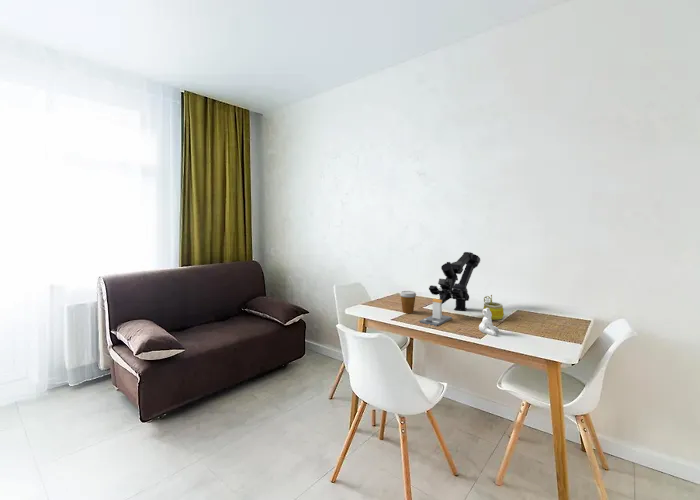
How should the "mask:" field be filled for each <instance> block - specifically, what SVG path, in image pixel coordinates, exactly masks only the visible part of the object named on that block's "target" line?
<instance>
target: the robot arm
mask: <svg viewBox="0 0 700 500" xmlns="http://www.w3.org/2000/svg"><path fill="white" fill-rule="evenodd" d="M480 263H481V258H480V256H479V255H476V254H474V253H473V252H471V251H464V252H463V253H462V255H461V256H460V257H459V258H458V259H457V260H456V261H453V262H450V261H446V263H444V264H442V265H441V267H440V268H441V271H442V273H443V275H444V276H445V278H438V281H437V284H438V285H440V286H439V288H438V286H437V285H429V287H428V290H429V292H430V293H431V294H432V295H433V296H438V295H439V300H442V305H443V304H445V303H446V302H447V301H449V300H450V299H453V300H455V307H454V309H453V310H454V311H462V312H463V311H464V312H466V310H467V308H468V307H466V302H467V301H470V295H469V293H468V288H467V286H468V284H469V281H470V278H471V277H472V274H473V271H474V269H476V268H477V267H478V266H479V264H480ZM464 267H465V268H464ZM461 274H462V275H461ZM458 275H461V277H460V280H459V279H458ZM457 281H459V282H458V283H457Z"/></svg>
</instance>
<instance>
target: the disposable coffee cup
mask: <svg viewBox="0 0 700 500" xmlns="http://www.w3.org/2000/svg"><path fill="white" fill-rule="evenodd" d="M399 295H400V299H401V300H400V301H401V310H402V313H403V314H413V313H414V310H415V309H414V308H415V301H416V297H417V293H416V291H411V290H402V291H400V293H399Z"/></svg>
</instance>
